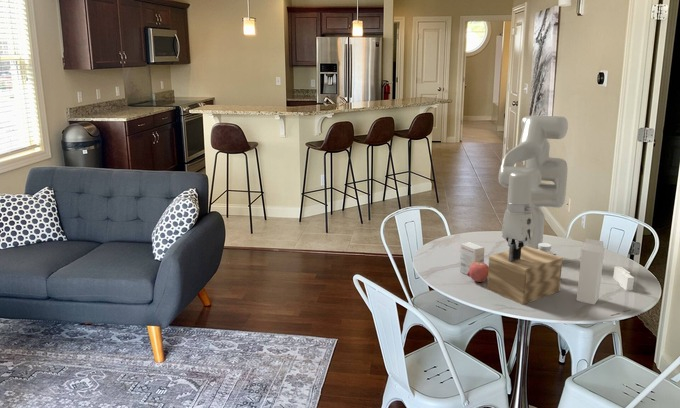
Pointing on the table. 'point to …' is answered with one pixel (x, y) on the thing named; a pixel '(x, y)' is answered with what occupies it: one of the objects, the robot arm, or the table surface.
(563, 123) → the robot arm
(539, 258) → the lid
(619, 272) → the white stepped block
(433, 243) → the table surface
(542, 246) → the supplement bottle
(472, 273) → the apple
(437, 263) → the table surface
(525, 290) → the wooden box
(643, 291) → the table surface
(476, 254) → the ink box
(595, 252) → the milk
